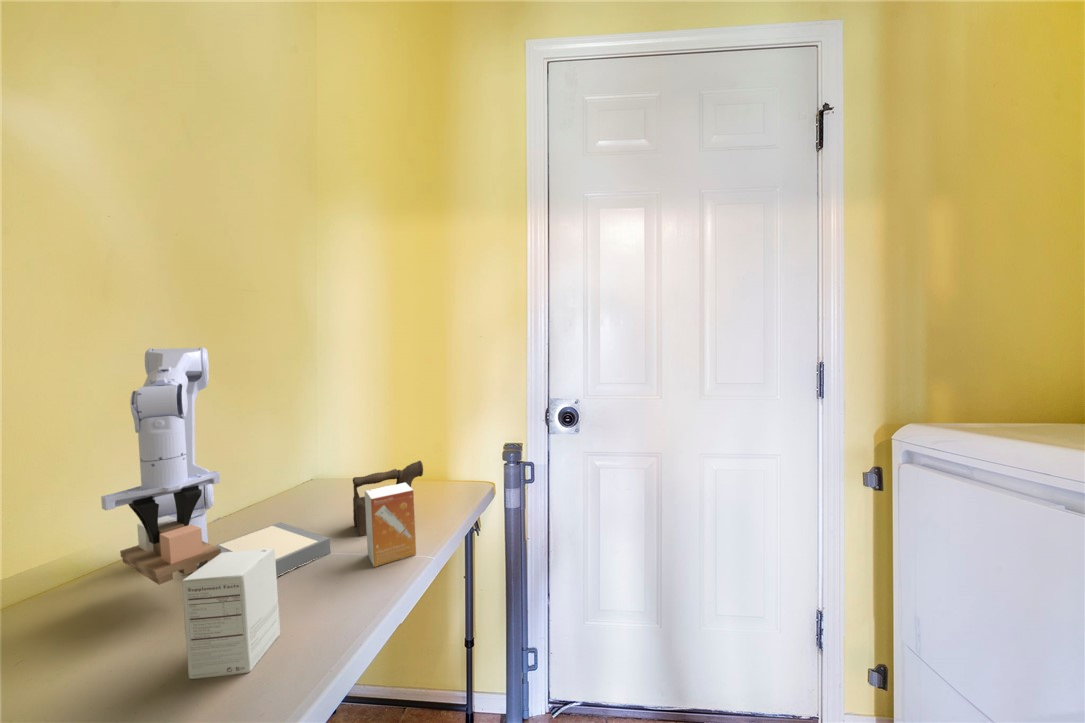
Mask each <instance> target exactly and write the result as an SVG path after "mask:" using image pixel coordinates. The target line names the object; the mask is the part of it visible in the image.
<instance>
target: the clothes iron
mask: <svg viewBox="0 0 1085 723" xmlns="http://www.w3.org/2000/svg"><path fill="white" fill-rule="evenodd" d="M423 475H424V465H423V462H422V461H421V460H417V461H416V462H412V463H410V464H409V465H406V466H405V467H404V468H403V469H398V470H397V468H394V469H391V470H388V471H383V472H381V471H380V472H375V473H374V472H373V473H372V474H367V475H365V476H354V477H353V478H352V484H353V498H352V506H353V510H352V511H353V512H352V513H353V518H352V519H353V528H354V529H355V528H356V529H357V533H358V535H359V536H362V537H363V536H367V532H366V508H365V496H360V494H359V493H358V492H359V491H358V488H359V487H362V486H365V485H375V484H379V483H382V482H385V481H389V480H396V483H395V485H396V484H401V483H406V484H407V485H409V486H410V487H411V488H412V484H413V483H412V482H413V481H414V479H416V478H418V477H423Z"/></svg>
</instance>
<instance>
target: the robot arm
mask: <svg viewBox="0 0 1085 723" xmlns="http://www.w3.org/2000/svg"><path fill="white" fill-rule="evenodd" d="M209 361H210V360H209V353H208V349H207V348H205V347H204V346H203V347H202V346H200V347H190V348H189V347H187V348H186V347H184V348H183V347H181V348H176V347H175V348H153V347H150V348H148V349H147V350H146V351H145V353H144V367H145V368H144V369H145V373H146V375H147V377H146V378H145V381H144V382H143V383H144V384H143V386H140V387H138V390H132V391H131V396H130V400H129V401H130V412H131V415H132V418H133V423H134V430H135V433H136V434H138V436H137V438H138V440H137V441H138V454H139V470H140V481H141V483H140V486H135V487H132V488H128V489H125V490H122V491H117V492H114V493H110V494H105V495H102V496H100V498H101V499H100V501H101V509H102V510H104V511H110V510H114V509H115V508H117V507H122V506H127V505H128V506H129V508H130V509H131V510H132V511H133V512H134V514H135V515H136V517H138V519H139V521H140V523H142V524H143V526H144V528H145V530H146V532H147V535H148V538H149V542H151V543H152V544H156V543H159V529H158V518H161V517H164V516H170V517H173V518H175V519H176V521H177V522H179V523H182V524H184V527H185V526H188V525H194V526H197V527H199V528H201V532H202V541H203V542H206V543H208V542H209V539H208V522H207V521H208V520H207V510H210V509H211V508H212V507H213V506H214V504H215V503H214V502H215V494H214V493H215V492H214V491H215V488H214V485H216V484H219V483H221V475H220V474H221V472H220V471H216V470H213V471H210V470H209V469H207V468H205V467H202V466H200V465H198V464H196V412H195V411H196V407H195V406H196V400H197V396H198V394H199V392H200V391H202V390H204V389H206V388H207V387H208V383H209V382H210V380H209V374H210V373H209V371H210V366H209ZM208 544H209V543H208Z"/></svg>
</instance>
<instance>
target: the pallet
mask: <svg viewBox="0 0 1085 723" xmlns="http://www.w3.org/2000/svg"><path fill="white" fill-rule="evenodd" d="M181 527H184V524H182V523H179V522H177V521H173V522H170V523H166V524H163V525H159V526H158V529H159V543H156V544H153V550H150V551H145V550H143V549H142V548H140V547H139V544H137V545H135V546H134V545H133V546H132V547H128V548H124V549H122V550H120V551H119V553H120V554H119V555H120V558H122V563H124V564H125V565H127V566H129V567H130V568H132V569H133V570H135V571H137V572H138V573H139V574H141V575H142V576H144V577H146V578H147V579H149V580H150V581H152V582H154V583H155V584H157V585H162V584H166V583H168V582H169V581H170V582H171V581H172V580H173V579H174V576H173V574H174V573H176V572H179V573H181V574H182V575H184V576H185V575H188V574H192V573H194V572H195V571H197V570H198V565H199V563H200V562H201V563H203V564H206V563H208V562H209V561H211V560H212V559H214V558H215V557H216V556H218V555H219V554H220V553H221V549H220V548H218V547H215V545H213V544H211V543H206V542H203V541H202V547H203V553H201V554H198V555H195V556H192V557H190V558H187V559H184V560H181V561H178V562H176V563H173V564H170V563H168V562H166V561H164V560H162V559H161V546H160V534H162V533H165V532H168V531H172V530H175V529H178V528H181Z"/></svg>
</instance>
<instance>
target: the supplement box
mask: <svg viewBox="0 0 1085 723" xmlns="http://www.w3.org/2000/svg"><path fill="white" fill-rule="evenodd" d="M277 578H278V577H276V562H275V549H272V548H271V549H256V550H246V551H235V552H224V553H220V554H219V555H218V556H216V557H215V558H214V559H212V560H211V561H209V562H208V563H206V564H205V565H204V566H202V567H199V568H197V570H196V571H194V572H191V573H190V575H188V576H187V577H185V578H184V579H182V581H181V583H182V586H181V587H182V598H183V600H182V601H183V612H184V613H183V614H184V628H185V629H184V630H185V642H186V643H185V645H186V655H187V656H186V657H187V658H186V659H187V671H188V673H187V674H188V679H192V680H194V679H204V678H212V677H214V678H215V677H222V676H231V675H240V674H247V673H250V672H251V671H252V670H253V668H254V667H255V666H256V664H258V662H259V661H260V659H261V658H262V657H263V656H264V655H265V654H266V653H267V651H268V650H269V648H270V647H271V646H272V645H273V643H274V642H275V641H276V640H277V638H278V637H279V636H280V635H281V627H280V625H281V624H280V623H281V622H280V610H279V597H278V596H279V594H278V581H277Z"/></svg>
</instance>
